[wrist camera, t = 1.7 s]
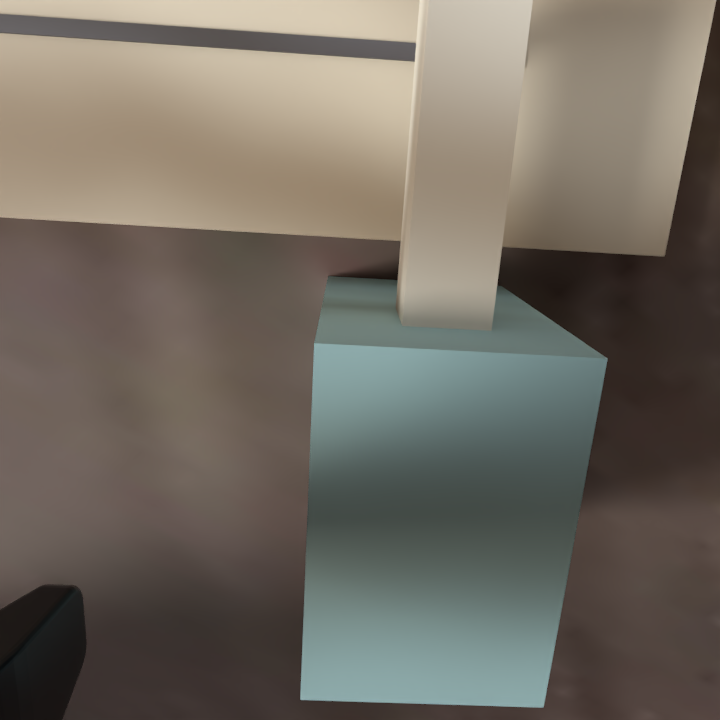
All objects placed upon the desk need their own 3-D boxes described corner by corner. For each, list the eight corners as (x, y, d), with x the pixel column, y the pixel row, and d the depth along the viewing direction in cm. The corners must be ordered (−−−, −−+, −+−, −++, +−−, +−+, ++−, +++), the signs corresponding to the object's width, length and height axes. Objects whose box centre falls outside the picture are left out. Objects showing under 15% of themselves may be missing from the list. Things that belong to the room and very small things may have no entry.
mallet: (471, 514, 16) (544, 708, 10) (318, 507, 16) (300, 699, 10) (530, 47, 13) (685, -66, 7) (339, 33, 12) (331, -93, 7)
